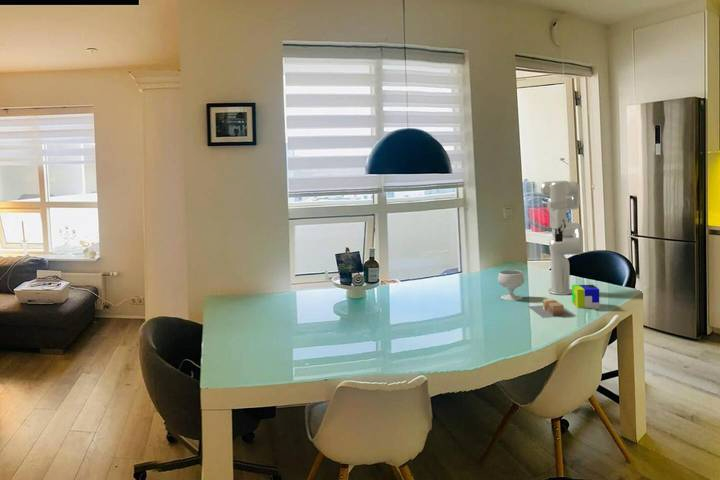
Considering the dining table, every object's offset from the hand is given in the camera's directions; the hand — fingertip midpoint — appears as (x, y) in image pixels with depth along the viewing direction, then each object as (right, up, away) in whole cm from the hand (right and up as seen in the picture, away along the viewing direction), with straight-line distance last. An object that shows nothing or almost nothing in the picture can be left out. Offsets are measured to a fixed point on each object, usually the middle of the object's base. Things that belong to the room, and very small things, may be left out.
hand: (558, 241), depth 230 cm
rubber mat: (-8, -35, -9) cm, 37 cm away
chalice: (-17, -32, +20) cm, 42 cm away
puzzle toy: (+12, -33, -3) cm, 36 cm away
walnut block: (-8, -32, -6) cm, 33 cm away
